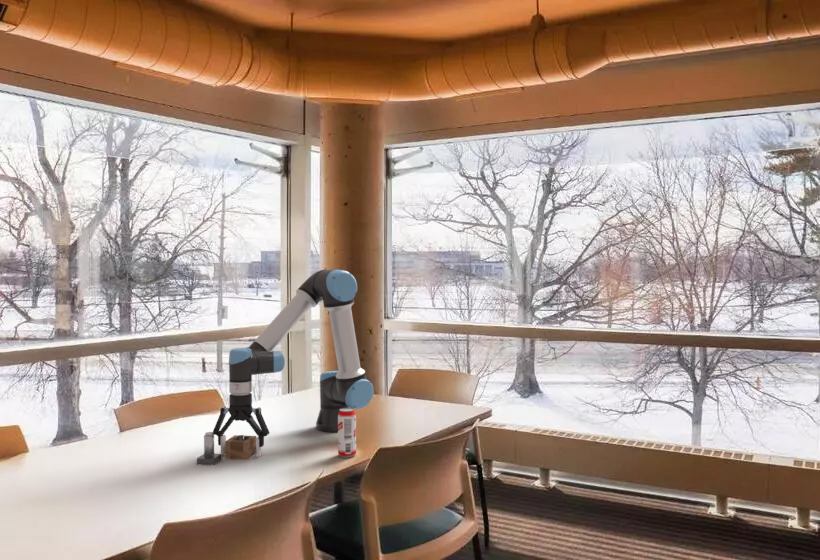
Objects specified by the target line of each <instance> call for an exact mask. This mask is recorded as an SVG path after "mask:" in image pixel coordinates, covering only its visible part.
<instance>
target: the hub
mask: <svg viewBox="0 0 820 560" xmlns="http://www.w3.org/2000/svg"><path fill="white" fill-rule="evenodd" d="M203 451H204V452H203V454H201V455H200V456H198V457H197V458H196V465H198V464H201V465H204V466H215V465H217V463H219V462H220V461H222V457H223V456H222V455H221V453H215V435H213V431H208V432H205V433H204V435H203Z"/></svg>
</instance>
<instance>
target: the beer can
mask: <svg viewBox="0 0 820 560" xmlns="http://www.w3.org/2000/svg"><path fill="white" fill-rule="evenodd" d="M337 454H338V456H340V458H345V459H346V458H352V457H354V456H355V455H356V454H357V415H356V412H355V409H353V408H342V409H340V411H339V413H338V432H337Z"/></svg>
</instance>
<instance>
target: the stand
mask: <svg viewBox="0 0 820 560" xmlns="http://www.w3.org/2000/svg"><path fill="white" fill-rule="evenodd" d="M244 436H245V435H244V434H239V436H238V440H242V441H244Z"/></svg>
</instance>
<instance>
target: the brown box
mask: <svg viewBox="0 0 820 560" xmlns="http://www.w3.org/2000/svg"><path fill="white" fill-rule="evenodd" d="M239 435H240V434H239ZM239 435H237V434H235V435H233V436H231V437H230V438H228V439H227V440H226V441H225V459H226V460H243V461H244V460H249V459H251V458H252V457H253V456H255V455H257V441H256V438H257V435H244V441H242V440H238V436H239Z"/></svg>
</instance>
